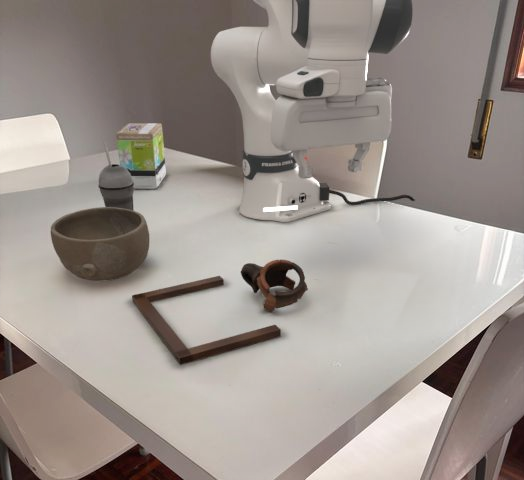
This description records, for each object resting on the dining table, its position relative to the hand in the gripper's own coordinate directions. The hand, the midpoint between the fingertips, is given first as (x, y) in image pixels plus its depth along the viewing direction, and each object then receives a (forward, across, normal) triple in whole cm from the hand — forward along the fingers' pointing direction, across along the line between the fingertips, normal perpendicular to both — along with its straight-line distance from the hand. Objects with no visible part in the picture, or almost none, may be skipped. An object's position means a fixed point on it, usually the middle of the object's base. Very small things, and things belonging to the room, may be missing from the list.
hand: (330, 174), depth 91 cm
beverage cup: (+20, +26, -41) cm, 52 cm away
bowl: (+20, +33, -25) cm, 46 cm away
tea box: (+20, +9, -82) cm, 84 cm away
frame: (+20, +23, +1) cm, 31 cm away
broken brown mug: (+20, +10, +1) cm, 23 cm away
